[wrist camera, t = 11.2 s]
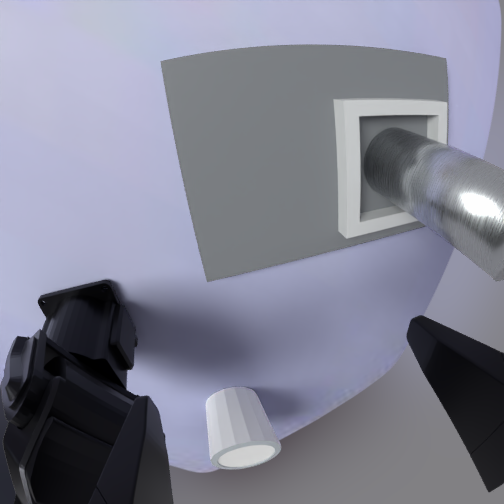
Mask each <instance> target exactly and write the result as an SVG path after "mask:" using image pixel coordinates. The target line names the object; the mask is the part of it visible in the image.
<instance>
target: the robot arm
mask: <svg viewBox="0 0 504 504" xmlns="http://www.w3.org/2000/svg"><path fill="white" fill-rule="evenodd" d="M103 286H106V287H107V289H104V288H103ZM43 301H45V302H46V303H44V302H43ZM38 304H39V306H40V308H41V310H42V311H43V313H44V315H45V316H46V321H45V323H44V326H43V329H42V330H41V329H39V330H38V331H37V332H36V333H35V334H34V335H33V337H31V338H29V337H20V336H17V337H16V338H15V340H14V341H13V344H12V346H11V349H10V351H9V354H8V356H7V360H6V364H5V370H4V377H3V380H2V382H1V385H0V389H1V395H2V401H3V407H4V413H5V417H6V420H7V421H9V422H8V425H7V428H6V431H5V435H4V438H3V447H4V452H5V456H6V460H7V464H8V468H9V472H10V475H11V479H12V482H13V485H14V488H15V492H16V496H15V501H14V504H173V496H172V489H171V480H170V470H169V461H168V454H167V449H166V444H165V434H164V433H163V429H162V424H161V419H160V414H159V411H158V409H157V407H156V406H155V404H154V403H153V401H152V400H151V398H150V397H149V396H139V395H134V394H133V393H131V392H129V391H127V390H126V388H127V370H131V369H132V368H133V366H134V348H135V347H136V346H137V344H138V339H137V337H136V335H135V331H136V329H135V327H134V325H133V323H132V321H131V319H130V316H129V314H128V312H127V310H126V308H125V306H124V305H123V304H120V302H119V300H118V298H117V295H116V293H115V291H114V289H113V286H112V284H111V283H110V282H109V281H107V280H102V281H98V282H94V283H90V284H85V285H81V286H77V287H73V288H69V289H65V290H61V291H57V292H53V293H49V294H45V295H41V296H40V298H39V300H38ZM407 340H408V343H409V345H410V346H411V349H412V351H413V353H414V355H415V357H416V359H417V361H418V363H419V365H420V367H421V369H422V371H423V373H424V375H425V377H426V378H427V380H428V382H429V383H430V385H431V387H432V388H433V390H434V392H435V393H436V395H437V397H438V398H439V400H440V402H441V403H442V405H443V407H444V409H445V410H446V412H447V414H448V415H449V417H450V419H451V421H452V423H453V424H454V426H455V428H456V430H457V432H458V433H459V435H460V437H461V439H462V441H463V443H464V445H465V446H466V448H467V450H468V452H469V454H470V456H471V458H472V460H473V462H474V464H475V466H476V468H477V470H478V472H479V474H480V476H481V478H482V480H483V482H484V484H485V486H486V488H487V490H488V492H491V491H492V490H494V489H496V488H497V487H499V486H500V485H502V484H503V483H504V353H502V352H500V351H498V350H496V349H493V348H491V347H489V346H487V345H485V344H483V343H481V342H479V341H476V340H474V339H472V338H470V337H468V336H466V335H463V334H462V333H459V332H457V331H455V330H453V329H451V328H448V327H446V326H444V325H442V324H440V323H438V322H435V321H433V320H431V319H429V318H427V317H425V316H422V315H420V316H417V317H415V318H412V319H411V321H410V324H409V328H408V331H407Z"/></svg>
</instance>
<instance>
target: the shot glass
mask: <svg viewBox="0 0 504 504" xmlns="http://www.w3.org/2000/svg"><path fill="white" fill-rule="evenodd" d="M206 416H207V429H208V440H209V451H210V461H211V463H212V465H213V466H216V467H218V468H222V469H243V468H248V467H252V466H256V465H259V464H262V463H264V462H267V461H269V460H270V459H272V458H274V457H275V456H276V455H277V454H278V453H279V452H280V451H281V445H280V442H279V440H278V438H277V436H276V434H275V432H274V430H273V428H272V426H271V424H270V421H269V419H268V417H267V415H266V413H265V411H264V409H263V406H262V404H261V402H260V400H259V398H258V395H257V394H256V393H255V392H254V391H253V390H252V389H249V388H246V387H230V388H225V389H222V390H220V391H218V392H215V393H214V394H212V395H211V396H210V397H209V398H208V399H207V402H206Z"/></svg>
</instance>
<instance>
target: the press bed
mask: <svg viewBox="0 0 504 504" xmlns="http://www.w3.org/2000/svg"><path fill="white" fill-rule="evenodd" d="M161 67H162V73H163V79H164V85H165V90H166V96H167V102H168V107H169V113H170V118H171V123H172V128H173V134H174V139H175V144H176V149H177V154H178V159H179V163H180V168H181V173H182V178H183V182H184V187H185V191H186V196H187V200H188V205H189V209H190V214H191V218H192V222H193V227H194V231H195V235H196V239H197V243H198V248H199V252H200V256H201V260H202V264H203V268H204V272H205V276H206V280H207V282H210V281H214V280H218V279H222V278H226V277H231V276H235V275H239V274H243V273H247V272H251V271H255V270H259V269H263V268H267V267H271V266H275V265H279V264H283V263H287V262H291V261H295V260H299V259H303V258H307V257H311V256H315V255H319V254H323V253H327V252H330V251H334V250H338V249H342V248H346V247H350V246H353V245H357V244H361V243H365V242H369V241H372V240H376V239H380V238H384V237H387V236H391V235H395V234H399V233H402V232H406V231H410V230H413V229H417V228H421V227H424V226H426V225H424V224H423V223H421V222H420V221H418V220H417V219H416V218H414V217H413V216H411V215H410V214H408V213H407V212H406V211H404V210H403V209H401V208H400V207H398V206H397V205H395V204H394V203H392V202H391V201H389V200H388V199H386V198H385V197H383V196H381V195H380V194H378V193H377V192H375V191H374V190H373V189H372V188H371V187H370V186H369V184H368V183H367V181H366V178H365V175H364V157H365V153H366V150H367V148H368V146H369V144H370V142H371V141H372V139H373V138H374V137H375V136H376V135H377V134H378V133H379V132H381V131H382V130H384V129H387V128H391V127H398V128H402V129H405V130H408V131H411V132H414V133H416V134H419V135H422V136H425V137H428V138H431V139H433V140H436V141H439V142H441V143H444V144H446V145H448V77H447V62H446V58H441V57H436V56H431V55H426V54H420V53H414V52H407V51H400V50H393V49H384V48H374V47H362V46H347V45H277V46H261V47H249V48H239V49H230V50H222V51H215V52H208V53H201V54H195V55H190V56H184V57H179V58H174V59H169V60H164V61H161Z"/></svg>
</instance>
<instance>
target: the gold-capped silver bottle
mask: <svg viewBox="0 0 504 504" xmlns="http://www.w3.org/2000/svg"><path fill="white" fill-rule="evenodd" d="M364 175H365V178H366V181H367V183H368V184H369V186H370V187H371V188H372V189H373V190H374V191H375V192H377V193H378V194H380V195H381V196H383V197H385V198H386V199H388V200H389V201H391V202H392V203H394V204H395V205H397V206H398V207H400V208H401V209H403V210H404V211H406V212H407V213H408V214H410V215H411V216H413V217H414V218H416V219H417V220H418V221H420V222H421V223H423V224H424V225H426V226H427V227H428V228H430V229H431V230H432V231H434V232H435V233H436V234H438V235H439V236H441V237H442V238H443V239H445V240H446V241H447V242H448V243H450V244H451V245H452V246H454V247H455V248H456V249H458V250H459V251H460V252H461V253H463V254H464V255H465V256H467V257H468V258H469V259H470V260H472V261H473V262H474V263H475V264H476V265H478V266H479V267H480V268H481V269H482V270H484V271H485V272H486V273H487V274H489V275H490V276H491V277H492V278H493V279H494V280H496V281H501V280H504V170H503V169H501V168H499V167H497V166H495V165H493V164H491V163H489V162H486V161H484V160H482V159H480V158H478V157H475V156H473V155H471V154H468V153H466V152H464V151H461V150H459V149H456V148H454V147H451V146H449V145H446V144H444V143H441V142H439V141H436V140H433V139H431V138H428V137H425V136H422V135H419V134H416V133H414V132H411V131H408V130H405V129H402V128H398V127H391V128H387V129H384V130H382V131H381V132H379V133H378V134H377V135H376V136H375V137H374V138H373V139H372V141H371V142H370V144H369V146H368V148H367V150H366V153H365V157H364Z"/></svg>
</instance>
